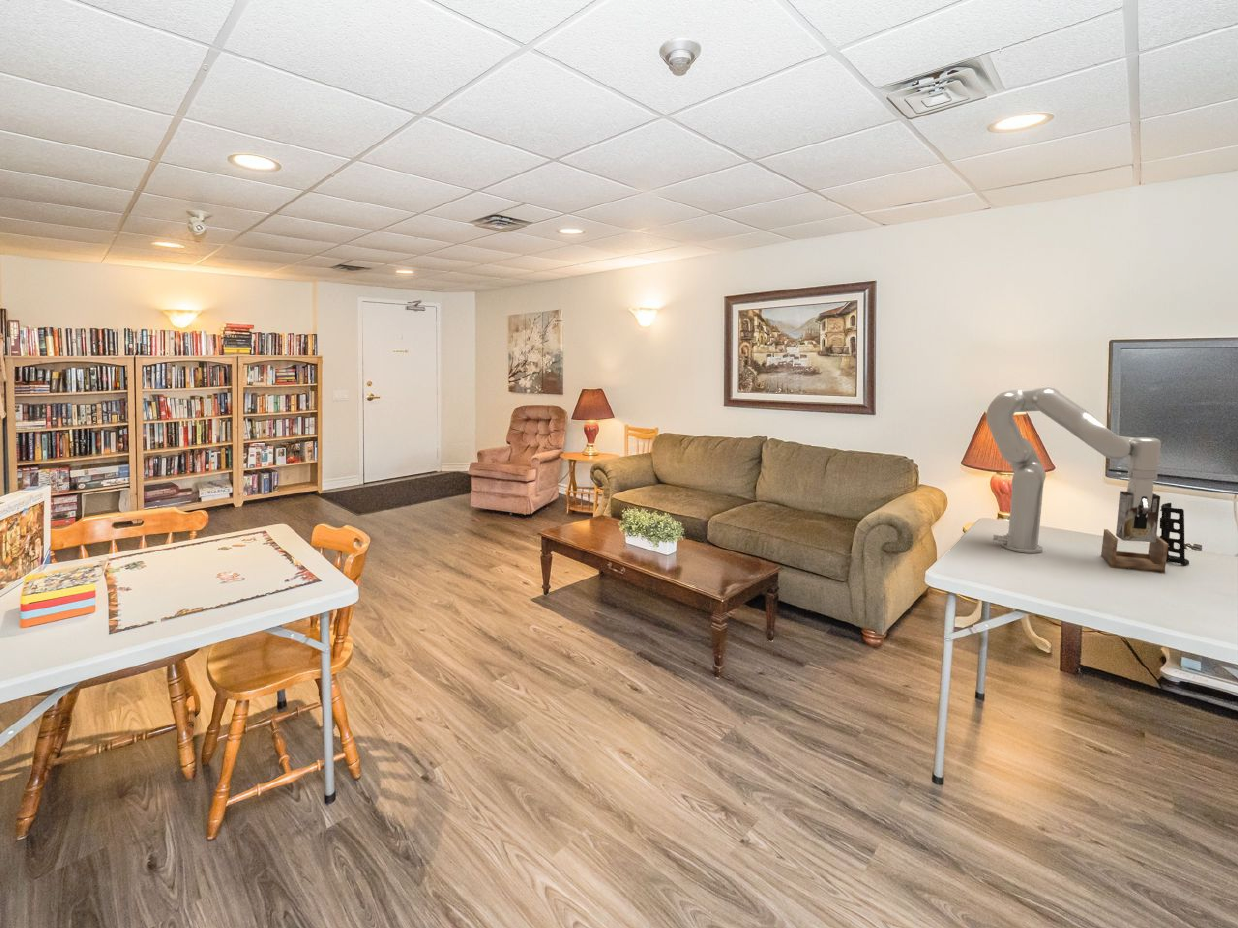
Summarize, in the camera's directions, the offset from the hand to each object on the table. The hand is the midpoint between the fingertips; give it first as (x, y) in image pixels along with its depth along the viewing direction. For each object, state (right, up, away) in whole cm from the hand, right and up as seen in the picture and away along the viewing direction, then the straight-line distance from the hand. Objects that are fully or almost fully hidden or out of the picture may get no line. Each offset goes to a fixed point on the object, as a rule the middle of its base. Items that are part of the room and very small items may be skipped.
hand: (1136, 525), depth 205 cm
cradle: (0, -14, +2) cm, 14 cm away
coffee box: (0, -5, +1) cm, 5 cm away
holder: (+16, -13, +5) cm, 21 cm away
